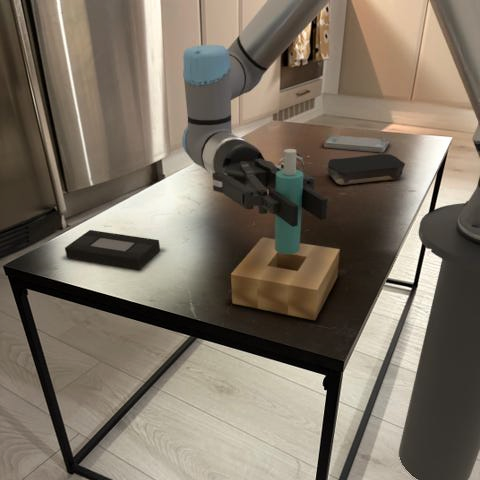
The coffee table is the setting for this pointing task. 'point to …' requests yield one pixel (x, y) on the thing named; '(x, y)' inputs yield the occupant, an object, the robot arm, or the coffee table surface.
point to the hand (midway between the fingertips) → (309, 213)
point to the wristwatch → (296, 158)
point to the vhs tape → (113, 249)
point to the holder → (285, 279)
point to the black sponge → (365, 169)
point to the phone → (356, 143)
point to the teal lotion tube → (292, 188)
